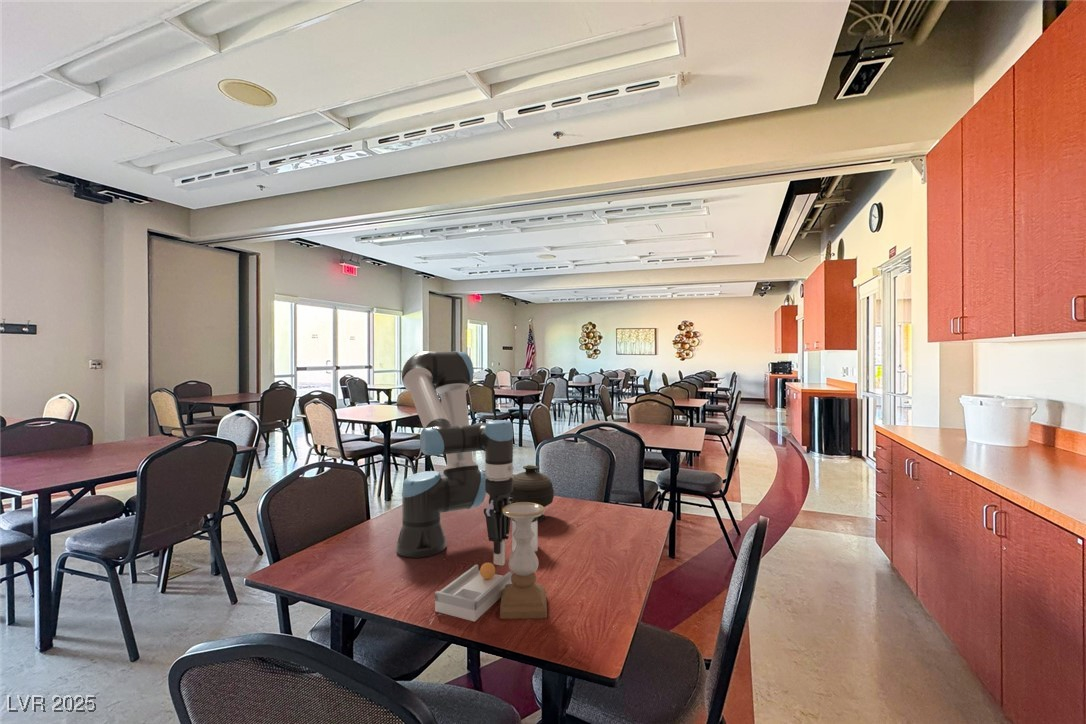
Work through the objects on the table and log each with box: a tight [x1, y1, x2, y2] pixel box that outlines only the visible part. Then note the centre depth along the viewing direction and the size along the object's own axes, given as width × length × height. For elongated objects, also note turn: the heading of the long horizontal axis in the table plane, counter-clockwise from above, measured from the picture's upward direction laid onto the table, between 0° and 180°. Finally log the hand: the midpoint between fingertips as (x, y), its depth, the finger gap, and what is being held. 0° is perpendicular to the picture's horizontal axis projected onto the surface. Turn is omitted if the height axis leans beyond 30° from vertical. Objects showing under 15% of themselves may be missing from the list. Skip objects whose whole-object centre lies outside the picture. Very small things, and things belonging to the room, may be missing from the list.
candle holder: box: [499, 502, 548, 620], centre depth 115 cm, size 11×11×24 cm
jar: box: [511, 517, 539, 553], centre depth 150 cm, size 9×8×12 cm
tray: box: [434, 564, 513, 622], centre depth 118 cm, size 11×18×4 cm, turn 156°
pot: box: [509, 464, 555, 522], centre depth 179 cm, size 18×18×20 cm
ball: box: [479, 562, 496, 579], centre depth 124 cm, size 4×4×4 cm
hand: (499, 563), depth 129 cm, fingers closed
